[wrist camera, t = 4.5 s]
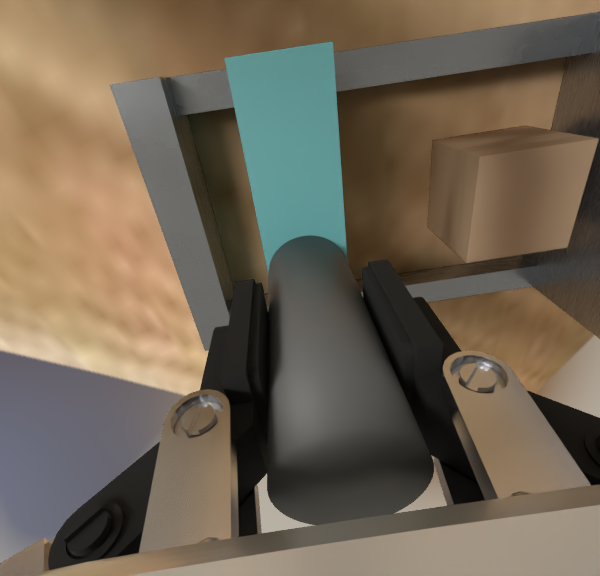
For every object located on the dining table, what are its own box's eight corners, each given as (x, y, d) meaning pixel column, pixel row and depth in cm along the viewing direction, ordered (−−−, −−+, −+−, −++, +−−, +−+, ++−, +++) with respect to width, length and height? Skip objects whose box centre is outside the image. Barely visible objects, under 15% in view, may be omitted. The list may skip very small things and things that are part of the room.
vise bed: (640, 7, 16) (909, -47, 9) (562, 268, 24) (682, 345, 17) (135, 84, 16) (37, 86, 9) (212, 321, 24) (188, 419, 17)
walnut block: (523, 125, 19) (599, 138, 14) (507, 214, 21) (567, 247, 17) (432, 139, 19) (479, 156, 14) (426, 226, 21) (466, 263, 17)
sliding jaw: (310, 55, 15) (498, -65, 3) (335, 318, 22) (416, 612, 10) (240, 66, 15) (106, -3, 3) (288, 325, 22) (311, 628, 10)
